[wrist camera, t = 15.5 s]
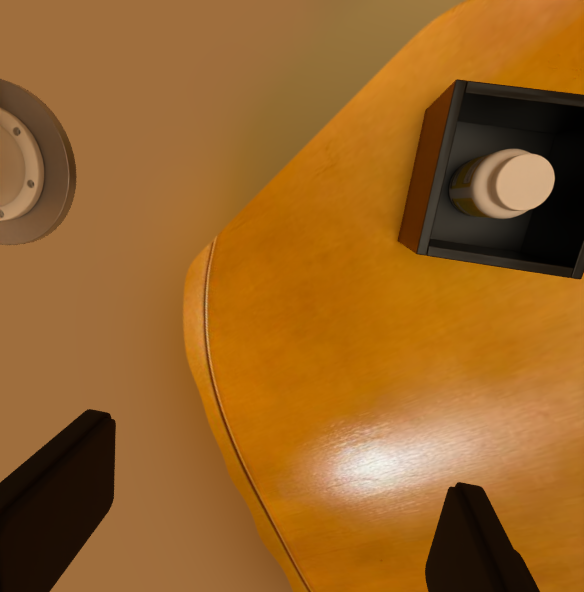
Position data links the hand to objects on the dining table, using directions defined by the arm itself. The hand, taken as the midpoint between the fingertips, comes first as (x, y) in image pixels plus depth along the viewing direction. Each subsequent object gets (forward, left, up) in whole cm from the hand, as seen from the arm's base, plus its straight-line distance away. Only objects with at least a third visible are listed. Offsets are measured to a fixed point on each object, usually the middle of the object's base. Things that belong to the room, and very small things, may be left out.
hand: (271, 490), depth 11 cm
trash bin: (-7, +16, -32) cm, 37 cm away
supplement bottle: (-7, +16, -32) cm, 36 cm away
